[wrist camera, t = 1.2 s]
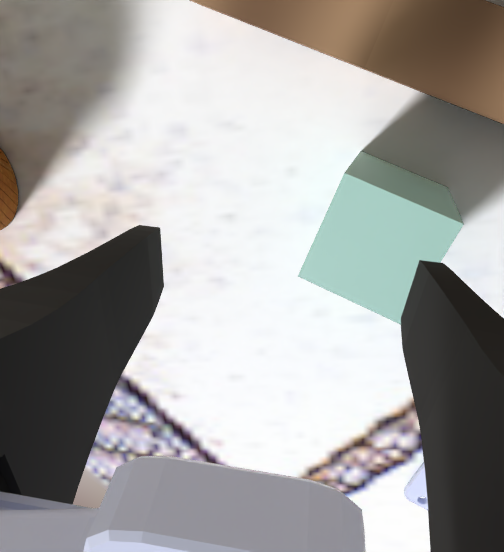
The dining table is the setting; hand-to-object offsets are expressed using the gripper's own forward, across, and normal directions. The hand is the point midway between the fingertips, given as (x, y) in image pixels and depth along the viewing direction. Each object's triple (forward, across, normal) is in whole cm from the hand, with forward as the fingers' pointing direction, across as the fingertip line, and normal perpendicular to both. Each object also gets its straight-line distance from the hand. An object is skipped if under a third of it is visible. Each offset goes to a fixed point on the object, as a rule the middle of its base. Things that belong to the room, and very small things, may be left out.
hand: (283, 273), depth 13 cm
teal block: (+9, -4, +2) cm, 10 cm away
